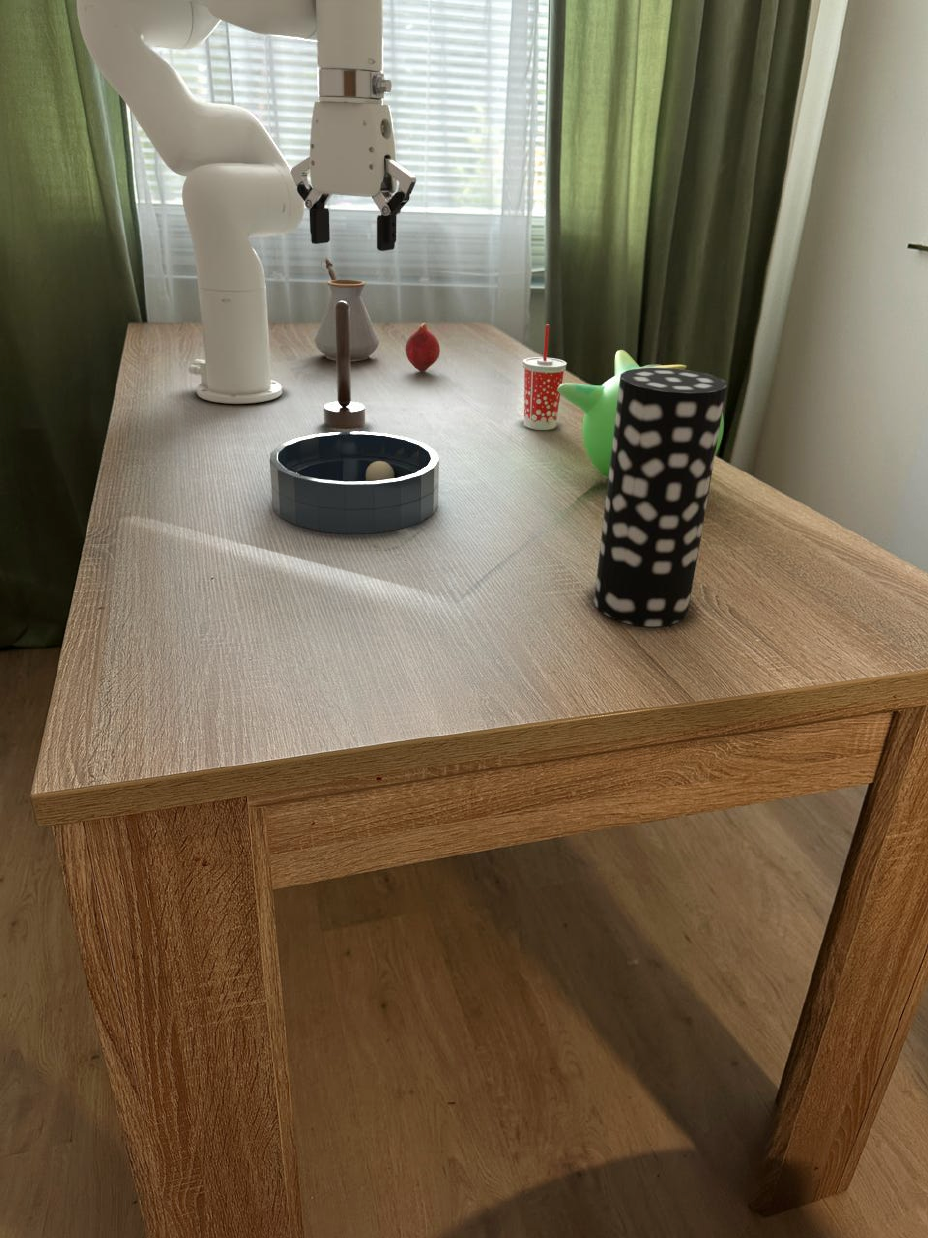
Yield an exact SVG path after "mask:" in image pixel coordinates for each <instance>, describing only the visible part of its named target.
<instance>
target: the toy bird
mask: <svg viewBox="0 0 928 1238" xmlns="http://www.w3.org/2000/svg"><path fill="white" fill-rule="evenodd" d="M687 367H688V366H687V365H685V364H666V365H665V364H664V365H662V364H647V365H643V366H640V365H639V364H638V363H637V362H636V360H635V359H634V358H633V357H632V356H631V355H630V354H629V353H628V352H627V351H626V350H624V349H619V350H617V351H616V352H615V355H614V376H612V377H610V378H609V379H608V380H607V381H605V382H604V383H603V384H601V385H595V384H585V383H574V382H565V383H562V384H561V385H560V386H559V387H558V392H559V393H560V396H562V397H563V398H564V399H565V400H567V401H568V402H569V403H571V404H573V405H574V406H575V407H578V408H579V409H580V410H582V411H583V412H584V415H583V420H582V427H581V433H582V442H583V446H584V449H585V451H586V454H587V456H588V458H589V460H590V462H591V463H592V464H593V466H594V467H595V468H596V469H597V470H598V472H600V473H601V474H602V475H603V476H604V477H605V478H607V479H608V477H609V468H610V460H611V451H612V443H613V434H614V426H615V417H616V408H617V400H618V391H619V383H620V375H621V374H622V373H623V372H625V371H628V370H632V369H639V368H673V369H683V370H686V368H687ZM723 412H724V411H723ZM723 412H722V417H721V423H720V429H719V435H718V441H717V447H716V452H715V456H716V455H717V453H718V451H719V449H720V446H721V443H722V440H723V436H724V430H725V429H724V427H725V421H724V413H723Z"/></svg>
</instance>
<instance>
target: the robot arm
mask: <svg viewBox="0 0 928 1238" xmlns="http://www.w3.org/2000/svg"><path fill="white" fill-rule="evenodd" d="M383 9H384V0H76V12H77V21H78V24H79V25H78V26H79V29H80V33H81V36H82V39H83V42H84V45H85V47H86V49H87V51H88V54H89V55H90V57H91V60H92V61H93V62H94V64H95V66H96V67H97V69H98V71H99V72H100V73H101V74H102V76H103V77H104V78H105V80H106V81H107V82H108V83H109V85H110V86H111V87H112V88H113V89H114V91H116V93H117V94H118V95H119V96H120V98H121V99H122V100H123V101H124V102H125V104H126V105H127V107H128V108H129V110H130V111H131V113H132V114H133V116H134V118H135V120H136V121H137V123H138V124H139V126H140V127H141V129H142V131H143V133H144V134H145V135H146V137H147V138H148V140H149V141H150V143H151V144H152V146H153V148H154V149H155V151H156V152H157V154H158V155H159V157H160V158H161V160H162V161H163V162H164V164H165V165H166V166H167V167H168V169H169V170H170V171H171V172H173V173H174V174H176V175H179V176H181V177H185V180H184V182H183V185H182V190H181V199H182V207H183V211H184V215H185V219H186V222H187V226H188V229H189V233H190V238H191V242H192V247H193V253H194V260H195V269H196V279H197V287H198V297H199V300H198V301H199V308H200V309H199V310H200V320H201V332H202V342H203V354H204V359H200V358H199V359H198V358H196V359H194V360H193V362H192V364H190V365H189V367H188V372H189V374H190V375H195V376H200V378H201V383H199V384H198V385H197V386H196V393H197V396H198V397H199V398H201V399H202V400H205V401H208V402H211V403H217V404H227V405H229V404H230V405H232V404H233V405H244V404H257V403H258V404H259V403H264V402H268V401H272V400H275V399H277V398H279V397H280V396H281V395H282V394H283V386H282V385H281V384H280V383H279V382H277V381H275V380H272V372H271V371H272V369H271V355H270V337H269V321H268V303H267V287H266V275H265V269H264V266H263V263H262V261H261V259H260V256H259V255H258V253H257V251H256V250H255V248H254V246H253V244H252V242H251V240H250V239H252V238H260V237H273V236H283V235H287V234H289V233H291V232H293V231H294V230H296V229H297V228H298V227H299V226H300V224H301V223H302V221H303V218H304V215H305V214H304V213H305V208H306V209H308V211H309V233H310V239H311V240H310V242H311V244H313V245H314V244H315V245H318V244H319V245H320V244H327V243H329V242H330V240H331V236H330V235H331V234H330V233H331V232H330V210H329V208H328V207H326V205H327V203H328V202H329V201H330V198H331V197H332V196H333V195H336V196H337V195H338V196H347V197H348V196H349V197H360V198H361V197H362V198H372V200H373V202H374V204H375V205H376V206H377V208H378V210H379V211H380V214H378V215H377V217H376V249H377V251H380V252H385V251H392V250H394V249H395V245H396V242H397V216H398V215H400V213H401V211H402V209H403V208H404V207H405V205H407V203H408V202H409V201H410V195H411V194H412V192H413V190H414V187H415V185H416V183H417V177H416V176H415V175H414V174H413V173H411V172H410V171H408V170H407V169H406V168H404V167H403V166H402V165H400V164H399V163H397V150H396V140H395V139H396V138H395V132H394V130H395V129H394V124H393V119H392V117H393V116H392V113H391V112H392V111H391V107H390V105H389V104H384V99H385V93H390V92H391V91H392V80H390V79H389V78H385V74H384V73H383V72H384V71H383V70H384V55H383V54H384V24H383V23H384V10H383ZM221 21H223V22H225V23H228V24H230V25H233V26H234V27H237V28H240V29H243V30H246V31H248V32H252V33H254V34H259V35H263V36H271V37H281V38H287V39H288V38H289V39H295V40H296V39H297V40H302V41H309V42H310V41H311V42H316V52H317V53H316V55H317V56H316V57H317V58H316V59H317V91H318V92H317V93H318V94H317V95H318V101H314V104H313V110H312V117H311V125H310V126H311V127H310V140H309V156H308V157H307V158H305V159H303V160H302V161H300V162H299V163H298V164H296V165H293V167H291V166H290V165H289V163H288V162H287V159H286V158H285V157H284V156H283V154H282V152H281V151H280V149H279V148H278V146H277V145H276V143H275V142H274V141H273V139H272V137H271V136H270V135H269V132H268V131H267V130H266V128H265V127H264V125H263V124H262V123H261V121H260V120H259V119H258V118H257V117H256V116H255V115H254V114H253V113H252V112H250V111H249V110H247V109H246V108H244V107H241V106H239V105H235V104H228V103H215V102H214V103H213V102H207V101H203V100H201V99H198V98H197V97H196V96H195V95H194V94H193V93H192V92H191V90H190V89H189V87H188V86H187V85H186V83H185V81H184V79H183V78H182V76H181V75H180V74H179V72H178V71H177V70H176V69H175V68H174V66H172V65H171V64H170V63H169V62H168V61H167V60H166V59H164V58H163V57H162V56H161V55H159V54H158V53H157V52H155V51H154V50H153V49H152V48H150V47H153V48H161V49H162V48H163V49H173V50H182V51H183V50H184V51H185V50H191V49H194V48H197V47H198V46H200V45H201V44H203V42H205V41H206V40H207V38H208V37H209V36H210V35H211V34H212V33H213V31H214V30H215V29H216V28H217V26H218V25H219V24H220V23H221ZM309 173H310V174H309ZM308 175H309V178H310V183H311V184H310V183H309V179H308ZM398 183H399V185H398V186H397V184H398ZM397 187H398V188H397Z"/></svg>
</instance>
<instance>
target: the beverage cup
mask: <svg viewBox="0 0 928 1238" xmlns="http://www.w3.org/2000/svg"><path fill="white" fill-rule="evenodd" d="M549 336H550V324H549V323H547V324H545V333H544V343H543V345H544V347H543V356H537V357H536V356H535V357H534V356H533V357H527V358H524V359H523V360H522V368H523V371H524V375H523V377H524V378H523V426H524V427H526V428H527V429H531V430H536V431H549V430H554V429H556V426H557V419H558V413H559V407H560V400H561V394H560V393H559V392H558V387H559V386H560V385H561V384H563V379H564V372H565V371H566V369H567V364H568V362H566V361H565V360H562V359H559V358H554V357H548V347H549Z"/></svg>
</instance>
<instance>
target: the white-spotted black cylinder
mask: <svg viewBox="0 0 928 1238" xmlns="http://www.w3.org/2000/svg"><path fill="white" fill-rule="evenodd" d="M727 387H728V384H727V382H726V381H725V380H724V379H722V378H720V377H717V376H715V375H712V374H709V373H704V372H700V371H696V370H689V369H673V368H639V369H632V370H628V371H625V372H623V373H622V374H621V375H620V383H619V391H618V400H617V408H616V417H615V426H614V434H613V443H612V451H611V460H610V468H609V477H608V478H607V486H606V493H605V494H606V495H605V503H604V511H603V519H602V520H603V521H602V528H601V537H600V545H599V555H598V564H597V571H596V580H595V588H594V589H595V590H594V596H593V603H594V605H595V607H596V608H597V610H599V611H600V612H601V613H602V614H603V615H605V616H607V617H609V618H611V619H613V620H615V621H617V622H621V623H624V624H628V625H633V626H640V627H663V626H664V627H665V626H670V625H674V624H677V623H680V622H681V621H683V620H684V619H685V618H686V617H687V615H688V614H689V609H690V603H691V597H692V592H693V585H694V580H695V575H696V570H697V569H696V568H697V562H698V557H699V550H700V546H701V545H700V544H701V538H702V533H703V528H704V522H705V516H706V510H707V504H708V499H709V493H710V486H711V481H712V476H713V471H714V464H715V458H716V455H715V452H716V447H717V441H718V435H719V429H720V423H721V417H722V412H724V404H725V400H726V394H727V392H726V391H727Z"/></svg>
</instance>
